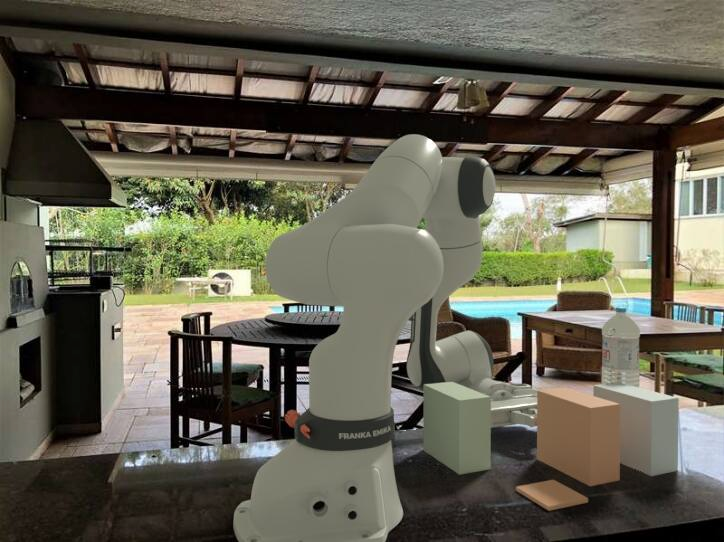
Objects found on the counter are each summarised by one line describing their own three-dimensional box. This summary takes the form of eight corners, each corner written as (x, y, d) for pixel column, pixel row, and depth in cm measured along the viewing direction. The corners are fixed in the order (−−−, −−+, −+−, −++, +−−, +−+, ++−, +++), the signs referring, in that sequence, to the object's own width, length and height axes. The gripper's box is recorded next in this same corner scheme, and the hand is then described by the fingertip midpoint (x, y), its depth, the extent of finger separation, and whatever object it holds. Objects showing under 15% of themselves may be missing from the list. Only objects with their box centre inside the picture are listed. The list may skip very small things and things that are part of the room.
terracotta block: (590, 486, 82) (590, 408, 82) (536, 459, 93) (537, 390, 93) (619, 480, 84) (620, 404, 84) (564, 454, 95) (564, 387, 95)
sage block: (459, 474, 87) (459, 400, 86) (423, 450, 98) (423, 384, 97) (490, 469, 89) (490, 396, 89) (452, 446, 100) (452, 381, 100)
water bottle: (635, 440, 103) (636, 309, 102) (597, 433, 107) (598, 307, 106) (642, 431, 108) (643, 307, 108) (605, 425, 112) (606, 305, 112)
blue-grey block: (651, 476, 86) (651, 401, 86) (592, 451, 97) (593, 385, 97) (677, 470, 88) (678, 397, 88) (617, 447, 99) (618, 382, 99)
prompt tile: (548, 510, 74) (548, 506, 74) (516, 490, 80) (516, 486, 80) (588, 502, 76) (588, 498, 76) (553, 483, 83) (553, 479, 83)
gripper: (449, 392, 106) (490, 410, 93) (533, 383, 114) (582, 398, 101) (449, 424, 106) (490, 446, 94) (533, 412, 114) (582, 432, 101)
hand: (539, 421), depth 97 cm, fingers closed
